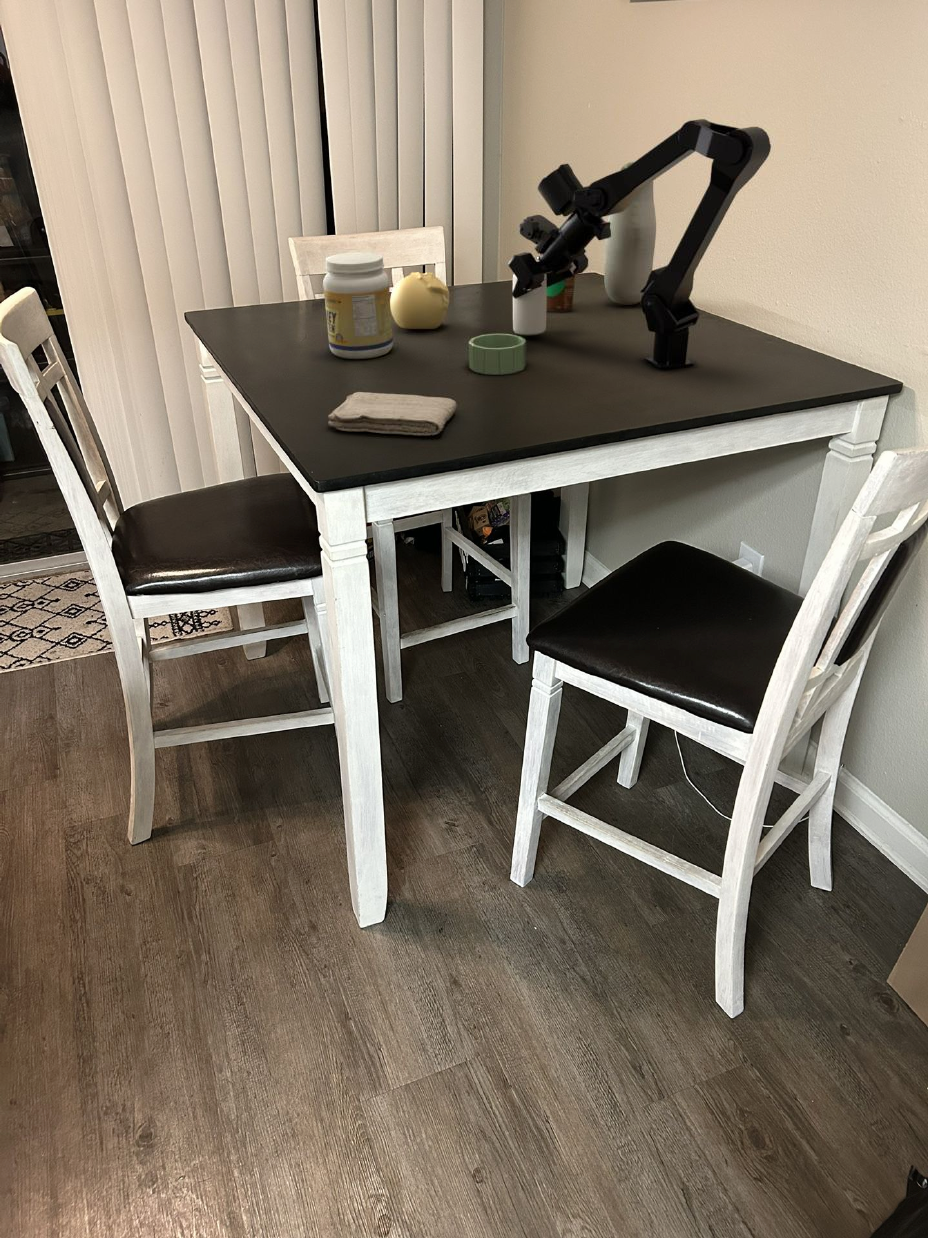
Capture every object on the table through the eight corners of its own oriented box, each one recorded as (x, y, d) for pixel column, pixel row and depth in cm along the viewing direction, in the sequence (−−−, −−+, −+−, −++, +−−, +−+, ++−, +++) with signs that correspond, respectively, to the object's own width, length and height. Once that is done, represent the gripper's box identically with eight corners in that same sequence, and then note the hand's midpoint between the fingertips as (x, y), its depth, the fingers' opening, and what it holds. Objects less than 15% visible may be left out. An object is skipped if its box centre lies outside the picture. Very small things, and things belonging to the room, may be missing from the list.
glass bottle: (595, 301, 204) (602, 160, 189) (637, 296, 206) (647, 158, 191) (614, 311, 196) (623, 165, 181) (657, 306, 198) (670, 162, 183)
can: (552, 330, 180) (553, 266, 173) (531, 337, 176) (531, 271, 169) (527, 325, 184) (528, 262, 177) (506, 332, 180) (505, 267, 173)
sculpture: (458, 330, 186) (456, 274, 180) (402, 337, 182) (398, 280, 176) (438, 317, 195) (436, 264, 189) (384, 324, 191) (381, 269, 185)
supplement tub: (323, 347, 177) (313, 254, 168) (383, 339, 181) (376, 248, 172) (338, 363, 168) (329, 266, 159) (401, 355, 171) (396, 259, 162)
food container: (522, 303, 203) (523, 256, 198) (547, 300, 205) (548, 253, 200) (550, 315, 194) (551, 266, 188) (575, 312, 196) (577, 262, 190)
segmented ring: (532, 370, 161) (533, 345, 159) (479, 377, 159) (479, 351, 157) (514, 356, 169) (514, 331, 167) (463, 361, 167) (462, 336, 165)
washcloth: (351, 405, 148) (349, 387, 146) (459, 411, 144) (458, 392, 142) (325, 432, 138) (323, 412, 136) (441, 439, 134) (440, 418, 133)
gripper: (577, 193, 171) (529, 251, 183) (516, 206, 159) (469, 267, 171) (611, 242, 171) (561, 296, 183) (552, 259, 159) (503, 316, 171)
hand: (524, 293), depth 177 cm, fingers closed on can, 6 cm apart
